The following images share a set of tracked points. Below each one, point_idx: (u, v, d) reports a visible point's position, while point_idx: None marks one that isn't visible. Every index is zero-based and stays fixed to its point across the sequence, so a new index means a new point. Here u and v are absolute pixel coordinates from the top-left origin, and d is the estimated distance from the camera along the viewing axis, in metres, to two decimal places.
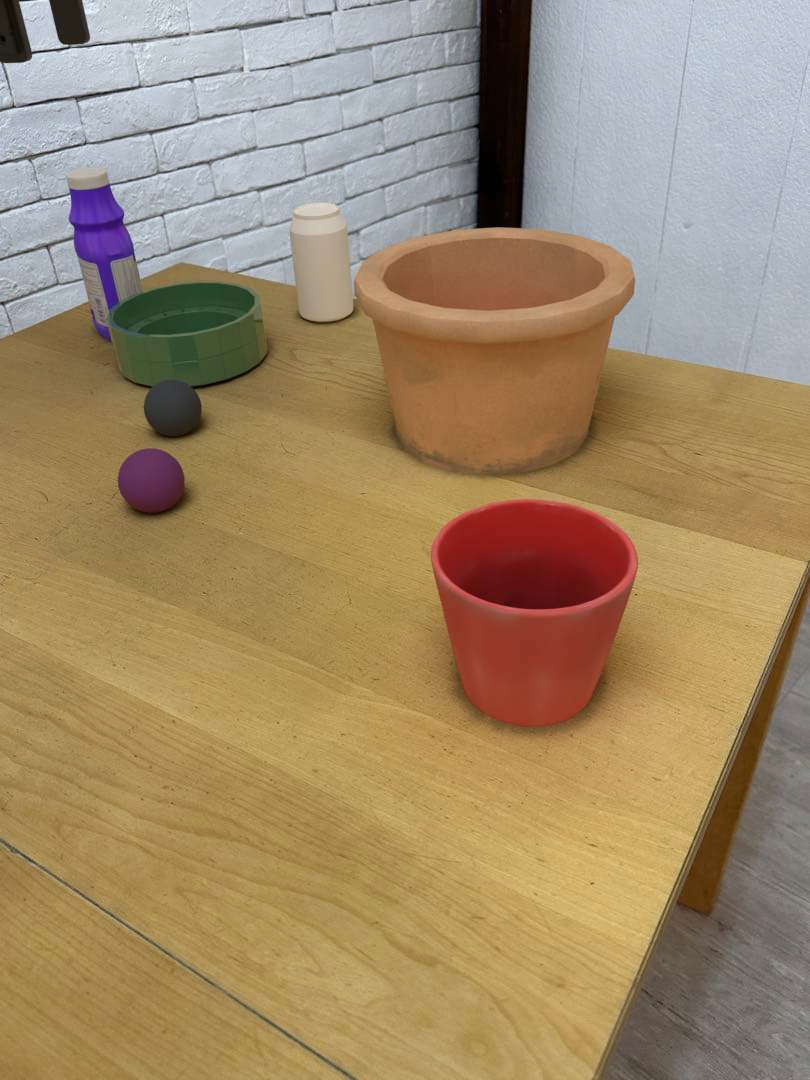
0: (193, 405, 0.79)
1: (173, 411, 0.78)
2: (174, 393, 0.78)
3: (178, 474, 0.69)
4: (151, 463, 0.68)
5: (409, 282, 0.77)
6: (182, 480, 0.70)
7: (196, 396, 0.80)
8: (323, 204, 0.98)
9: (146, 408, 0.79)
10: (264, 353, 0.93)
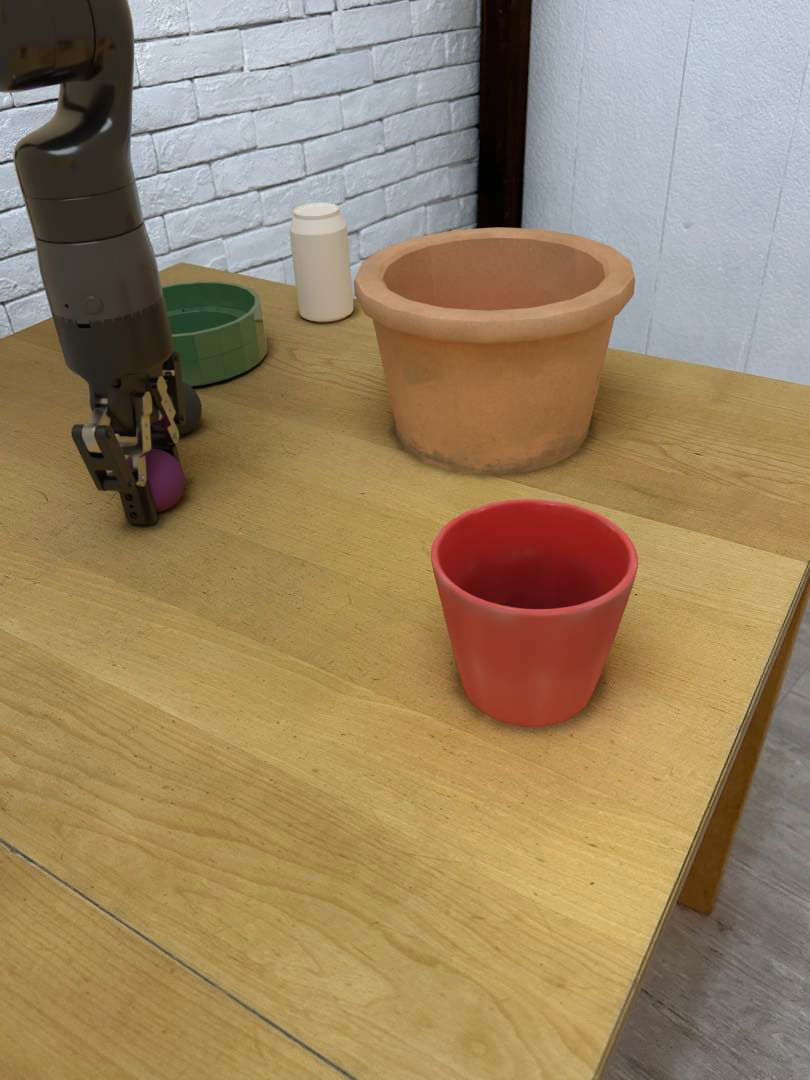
0: (193, 405, 0.79)
1: None
2: None
3: (178, 474, 0.69)
4: (151, 463, 0.68)
5: (409, 282, 0.77)
6: (182, 480, 0.70)
7: (196, 396, 0.80)
8: (323, 204, 0.98)
9: None
10: (264, 353, 0.93)
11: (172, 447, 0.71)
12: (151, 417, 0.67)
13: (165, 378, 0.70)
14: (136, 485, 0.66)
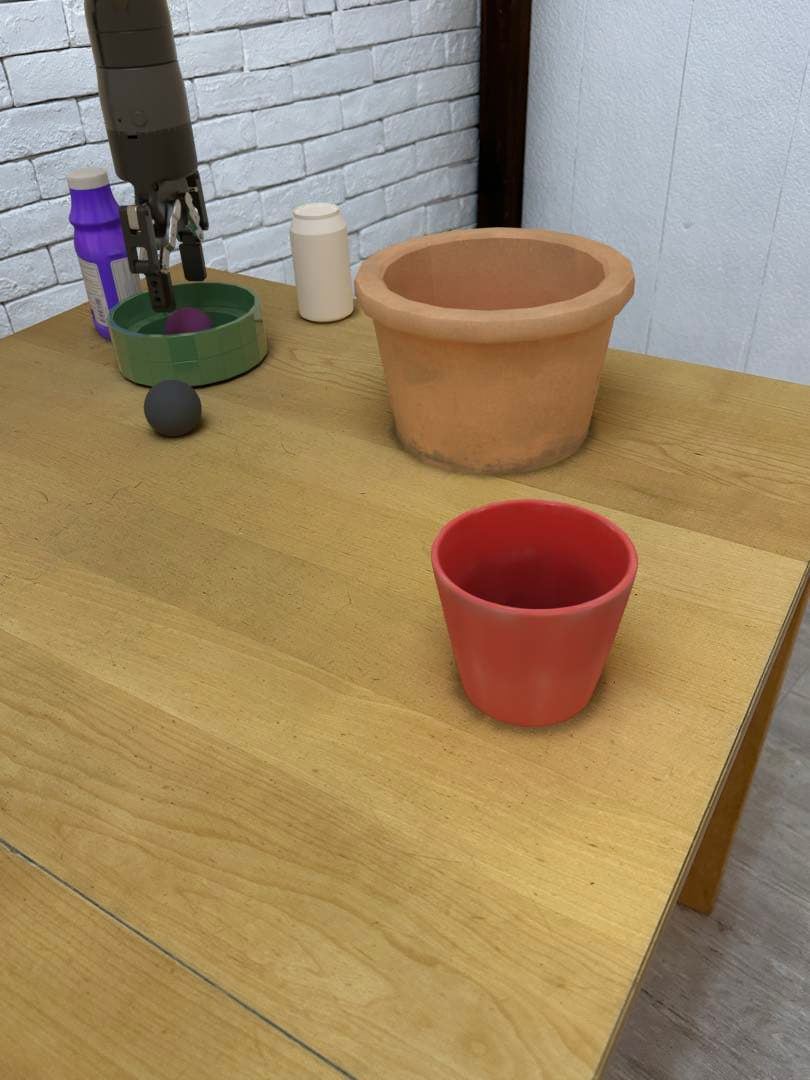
0: (193, 405, 0.79)
1: (173, 411, 0.78)
2: (174, 393, 0.78)
3: (210, 326, 0.92)
4: (190, 315, 0.90)
5: (409, 282, 0.77)
6: None
7: (196, 396, 0.80)
8: (323, 204, 0.98)
9: (146, 408, 0.79)
10: (264, 353, 0.93)
11: (198, 245, 0.91)
12: (179, 225, 0.86)
13: (190, 193, 0.90)
14: (160, 272, 0.84)
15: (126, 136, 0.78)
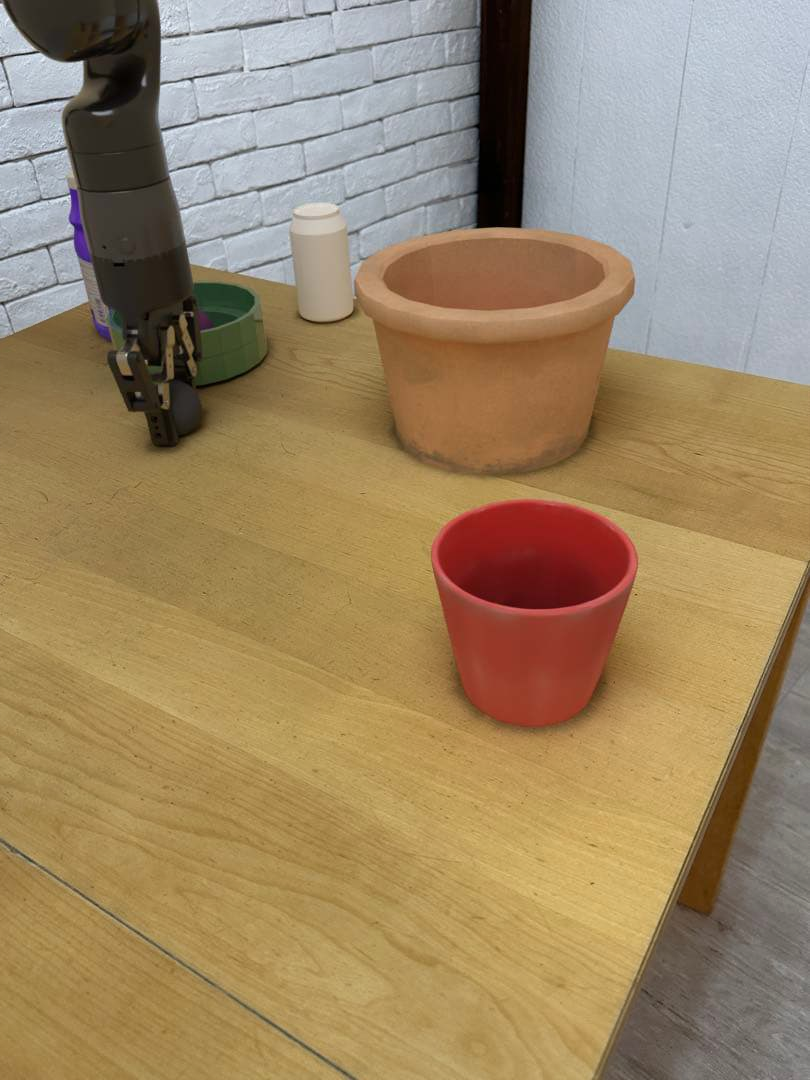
0: (193, 405, 0.79)
1: (173, 411, 0.78)
2: (174, 393, 0.78)
3: (210, 326, 0.92)
4: None
5: (409, 282, 0.77)
6: None
7: (196, 396, 0.80)
8: (323, 204, 0.98)
9: None
10: (264, 353, 0.93)
11: (191, 380, 0.81)
12: (173, 350, 0.77)
13: None
14: (161, 408, 0.76)
15: (112, 263, 0.69)
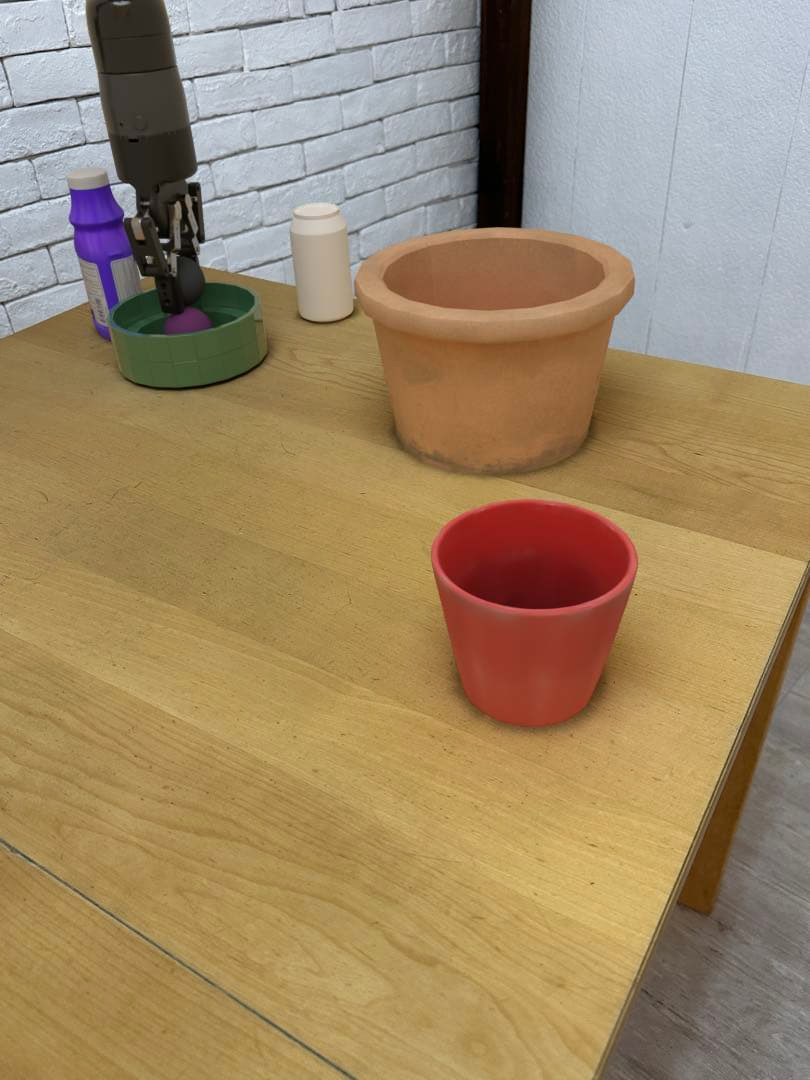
0: (197, 277, 0.90)
1: (181, 280, 0.89)
2: (181, 265, 0.89)
3: (209, 326, 0.92)
4: (189, 316, 0.90)
5: (409, 282, 0.77)
6: None
7: (200, 270, 0.91)
8: (323, 204, 0.98)
9: None
10: (264, 353, 0.93)
11: (195, 258, 0.93)
12: (180, 226, 0.88)
13: None
14: (169, 275, 0.87)
15: (127, 140, 0.81)
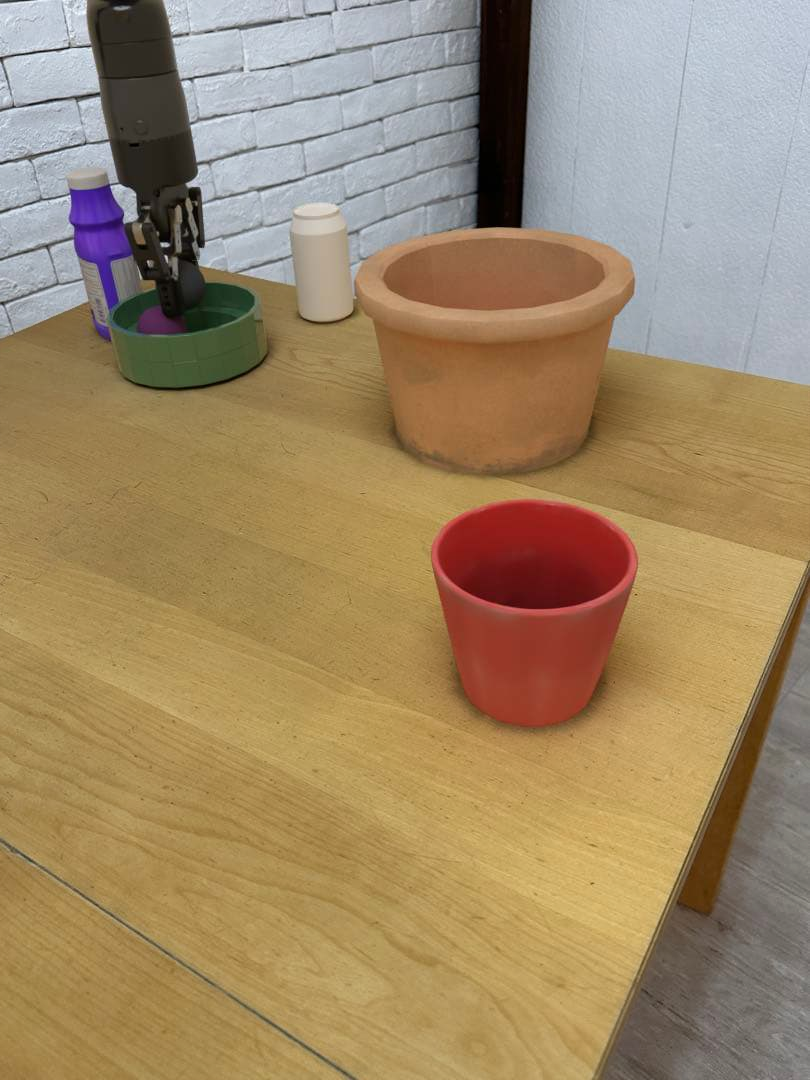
0: (198, 281, 0.91)
1: (181, 284, 0.90)
2: (182, 269, 0.90)
3: (158, 307, 0.92)
4: (139, 318, 0.92)
5: (409, 282, 0.77)
6: None
7: (201, 274, 0.91)
8: (323, 204, 0.98)
9: None
10: (264, 353, 0.93)
11: (195, 262, 0.93)
12: (180, 230, 0.89)
13: None
14: (170, 279, 0.88)
15: (128, 144, 0.81)
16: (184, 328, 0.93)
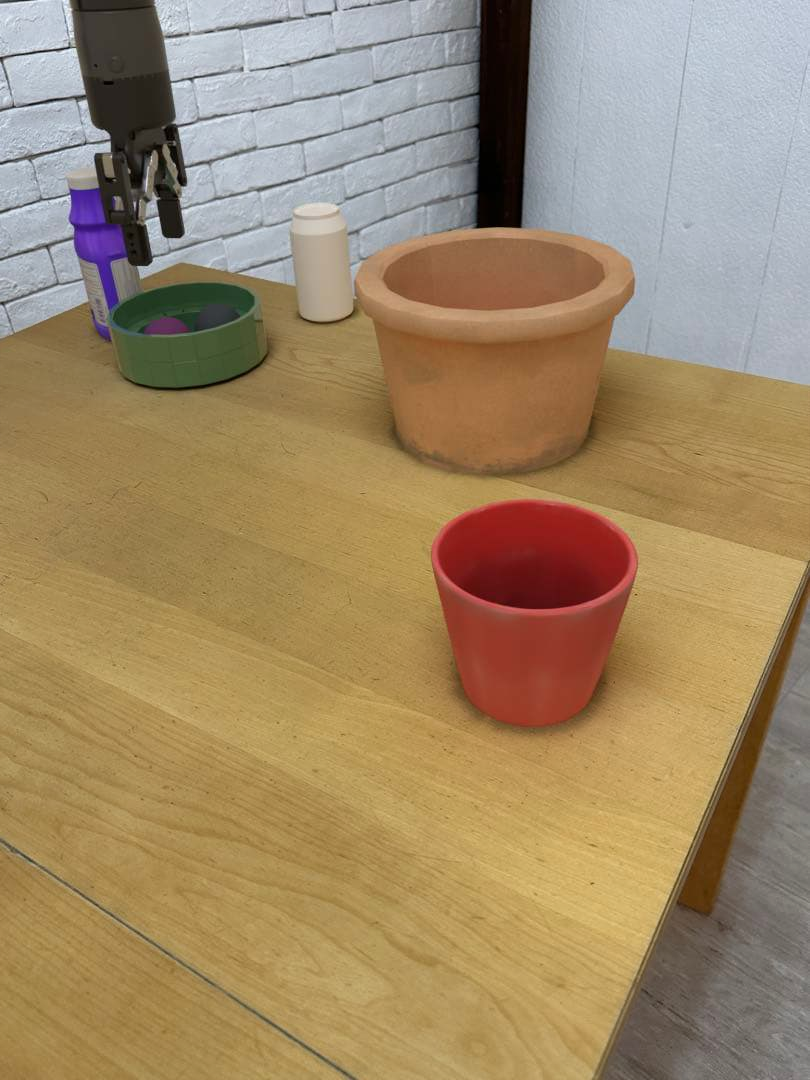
0: None
1: None
2: None
3: None
4: None
5: (409, 282, 0.77)
6: None
7: None
8: (323, 204, 0.98)
9: None
10: (264, 353, 0.93)
11: (176, 200, 0.90)
12: (157, 178, 0.85)
13: (168, 148, 0.89)
14: (136, 224, 0.82)
15: (102, 82, 0.77)
16: None
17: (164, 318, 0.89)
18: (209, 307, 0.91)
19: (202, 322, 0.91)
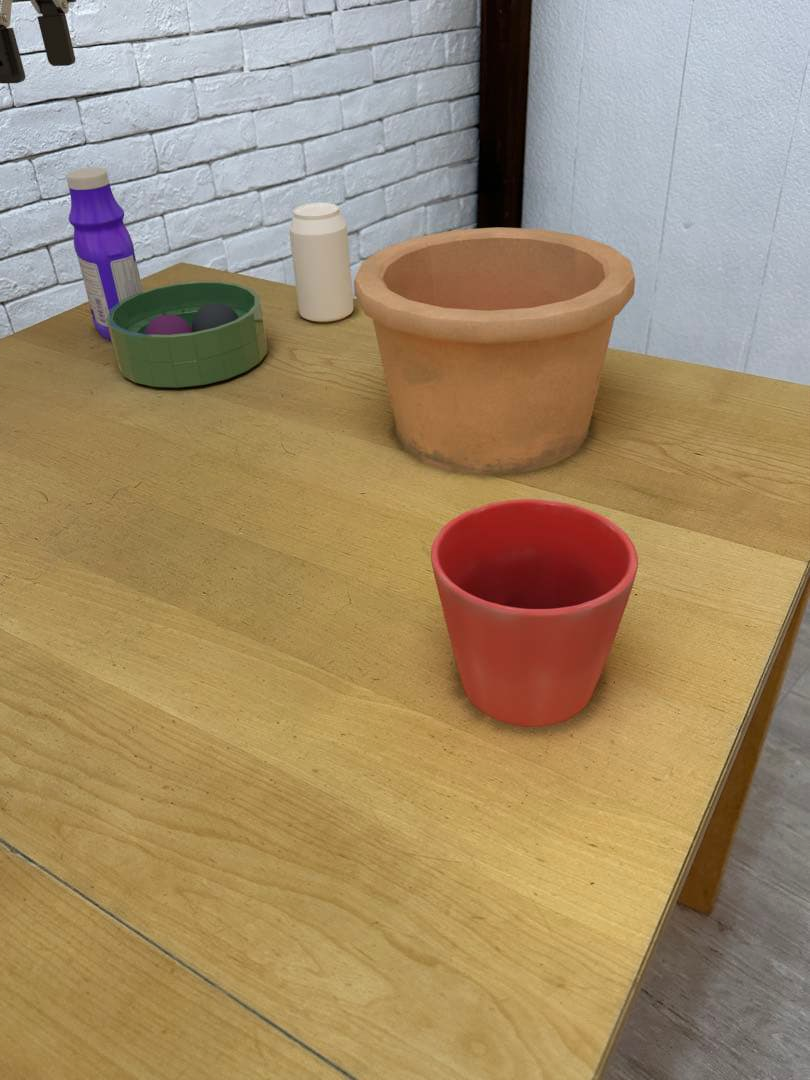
0: None
1: None
2: None
3: None
4: None
5: (409, 282, 0.77)
6: None
7: None
8: (323, 204, 0.98)
9: None
10: (264, 353, 0.93)
11: (61, 16, 0.75)
12: None
13: None
14: None
15: None
16: None
17: None
18: (204, 306, 0.92)
19: (198, 320, 0.91)
